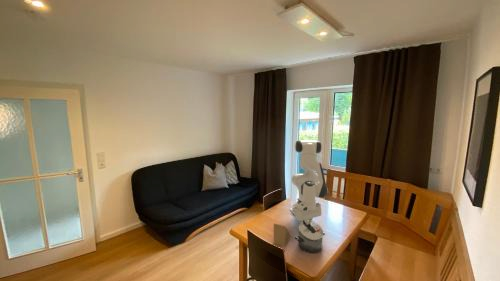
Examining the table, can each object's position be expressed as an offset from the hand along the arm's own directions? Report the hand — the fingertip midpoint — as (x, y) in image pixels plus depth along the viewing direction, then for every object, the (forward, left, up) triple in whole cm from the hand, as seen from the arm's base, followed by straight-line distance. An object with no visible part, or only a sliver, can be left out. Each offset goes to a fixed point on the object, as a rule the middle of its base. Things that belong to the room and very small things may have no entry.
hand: (308, 224), depth 146 cm
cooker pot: (+2, 0, -16) cm, 16 cm away
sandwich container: (-13, -12, -16) cm, 24 cm away
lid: (+2, 0, -4) cm, 5 cm away
